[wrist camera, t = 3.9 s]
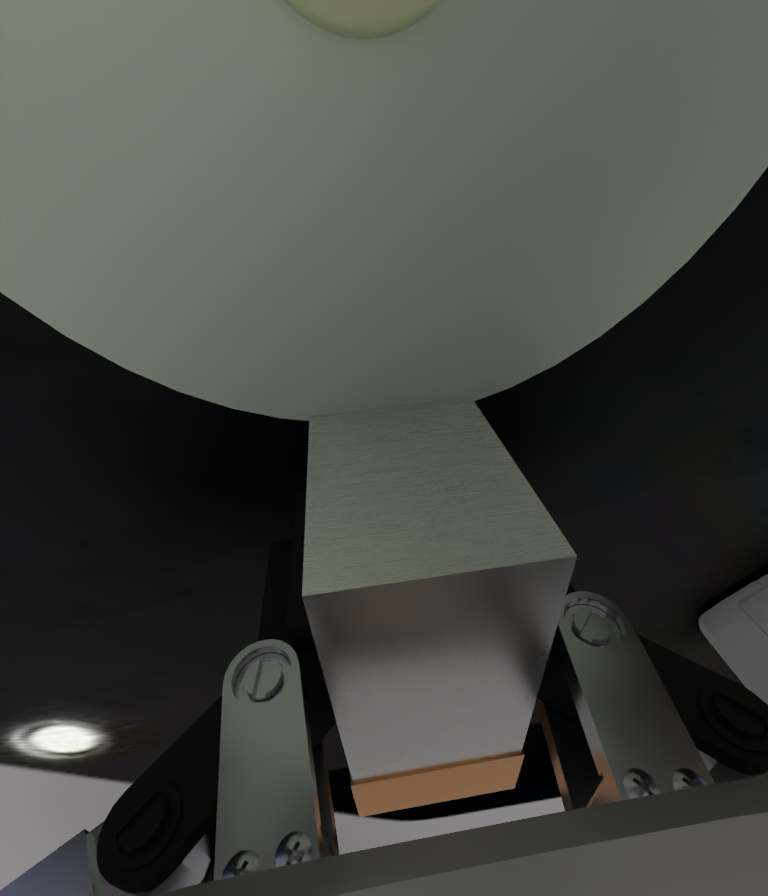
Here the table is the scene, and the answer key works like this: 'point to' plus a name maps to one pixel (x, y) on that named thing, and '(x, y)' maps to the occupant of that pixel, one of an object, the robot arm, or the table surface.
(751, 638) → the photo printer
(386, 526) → the orange-tipped grey block
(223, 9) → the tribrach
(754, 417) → the table surface
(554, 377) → the table surface
